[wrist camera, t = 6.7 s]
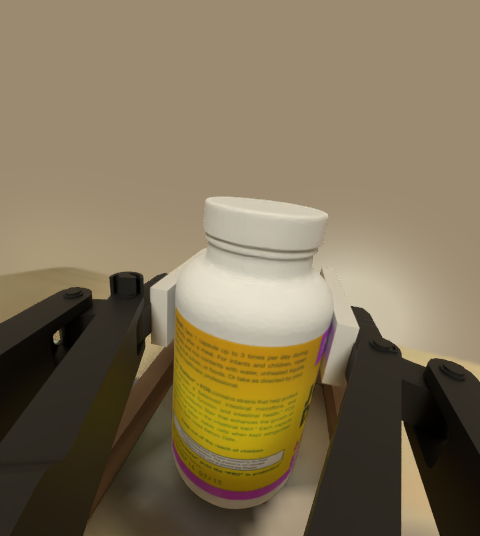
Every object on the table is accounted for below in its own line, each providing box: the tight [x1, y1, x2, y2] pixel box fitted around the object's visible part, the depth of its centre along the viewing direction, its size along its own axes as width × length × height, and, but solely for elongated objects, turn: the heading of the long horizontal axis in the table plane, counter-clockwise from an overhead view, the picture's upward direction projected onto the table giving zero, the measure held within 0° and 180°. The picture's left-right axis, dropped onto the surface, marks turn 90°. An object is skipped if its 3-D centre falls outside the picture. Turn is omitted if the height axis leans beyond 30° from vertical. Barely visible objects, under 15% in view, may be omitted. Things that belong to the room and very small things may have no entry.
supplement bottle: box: [172, 197, 334, 509], centre depth 12 cm, size 7×7×13 cm
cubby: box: [88, 339, 347, 519], centre depth 14 cm, size 13×15×6 cm
